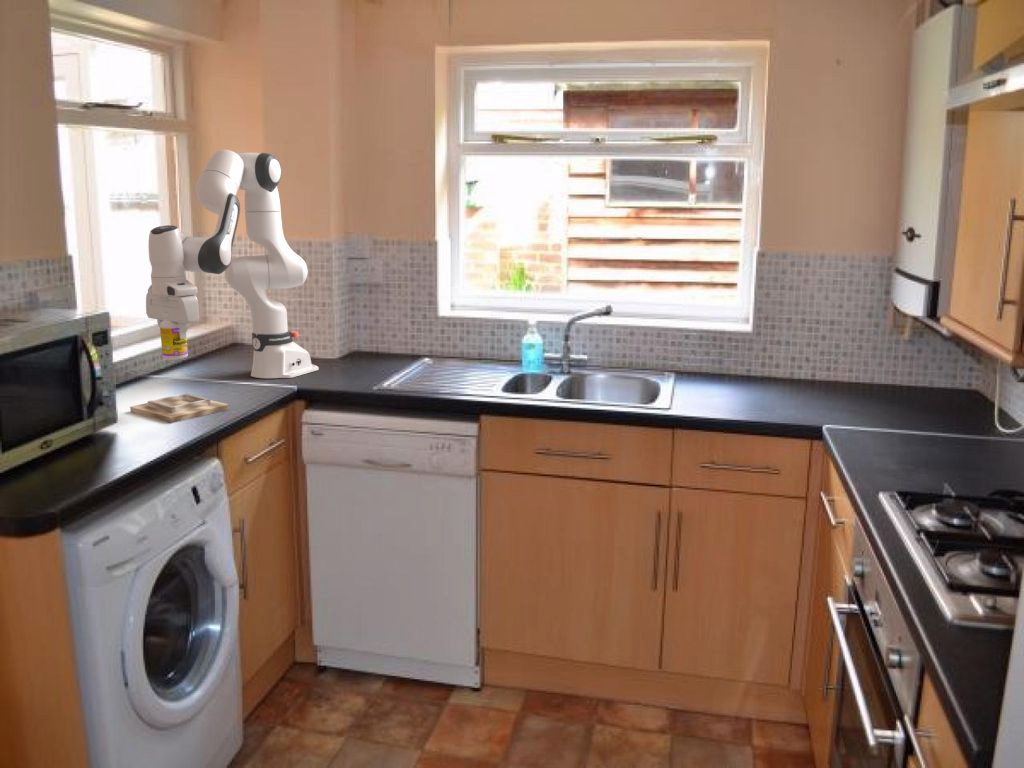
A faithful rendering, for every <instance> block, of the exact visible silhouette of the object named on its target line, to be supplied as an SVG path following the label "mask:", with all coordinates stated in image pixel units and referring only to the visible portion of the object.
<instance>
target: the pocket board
mask: <svg viewBox="0 0 1024 768" xmlns="http://www.w3.org/2000/svg"><path fill="white" fill-rule="evenodd" d="M129 408H130V410H129V411H130V412H131V413H133V412H134V413H133V414H137V413H138V415H140V414H141V415H140V416H144V417H149V418H151V419H154V418H155V420H158V419H159V420H158V421H162V422H165V421H166V423H169V422H170V423H169V424H174V423H178V421H179V422H182V421H181V420H183V421H186V419H187V420H191V419H195V418H194V417H196V418H200V417H203V416H208V414H209V415H213V414H216V412H217V413H220V412H219V411H221V412H224V411H223V410H226V411H229V410H230V404H228V403H225V402H219V401H215V400H212V399H210V398H206V397H202V396H198V395H194V394H190V393H188V392H187V393H186V392H185V393H181V394H176V395H171V396H166V397H161V398H158V399H153V400H148V401H147V402H145V403H141V404H136V405H132V406H129ZM228 409H229V410H228ZM212 413H213V414H212ZM199 416H200V417H199ZM190 418H191V419H190Z"/></svg>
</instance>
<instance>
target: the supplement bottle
mask: <svg viewBox="0 0 1024 768" xmlns="http://www.w3.org/2000/svg"><path fill="white" fill-rule="evenodd" d="M163 318H164V321H162V322H161V323H160V327H159V332H160V342H161V343H160V344H161V353H162V358H163V359H165V360H167V361H168V360H171V361H173V360H176V361H177V360H181V359H186V358H187V357H188V356H189V353H188V352H189V350H188V337H187V336H186V339H179V338H178V335H177V332H179V329H180V327H179V326H178V323H177V322H171V321H169V313H165V312H163Z"/></svg>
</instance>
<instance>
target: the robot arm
mask: <svg viewBox="0 0 1024 768" xmlns="http://www.w3.org/2000/svg"><path fill="white" fill-rule="evenodd" d="M282 171H283V170H282V166H281V163H280V161H279V160H278V158H277V157H276V156H275V155H273V154H271V153H267V152H266V153H265V152H261V153H259V152H242V153H241V152H237V153H236V151H233V150H230V149H218V150H217V151H216V152H215V153H214V154H213V155H212V156H211V157H210V159H209V160H208V161H207V163H206V164H205V166H204V168H203V169H202V171H201V173H200V175H199V177H198V180H197V181H196V185H195V195H196V199H197V200H198V202H199V203H200V204H201V205H202V207H204V208H205V209H206V210H208V211H209V212H211V213H212V214H215V215H218V217H217V222H216V225H215V226H216V227H215V230H214V233H212V234H211V235H208V236H188V235H186V234H184V233H182V232H181V230H180V228H179V227H178V226H177V225H170V224H169V225H168V224H167V225H160V226H157V227H153V228H152V229H151V230H150V232H149V235H148V261H149V263H150V265H151V266H150V267H151V272H150V279H151V281H150V282H151V284H150V286H149V287H148V289H147V293H146V294H145V295H146V296H145V313H146V316H147V318H148V319H152V320H153V319H154V320H157V321H156V323H157V326H158V327H159V328H160V323H161V322H162V321H164V318H163V312H165V313H169V321H171V322H177V323H178V326H179V327H180V329H179V332H177V335H178V338H179V339H186V337H187V331H188V328H189V325H191V324H196V323H198V322H199V318H200V314H199V313H200V311H199V300H198V298H197V296H196V295H198V294H199V293H198V292H199V291H198V287H197V286H196V285H195V284H193V283H192V282H190V281H189V280H188V279H187V277H186V275H187V274H186V272H191V273H208V274H215V275H220V274H222V273H224V278H225V280H226V282H227V284H228V285H229V286H230V287H231V288H232V289H233V290H234V291H236V292H238V294H240V295H241V296H242V297H243V298H244V300H245V301H246V303H247V305H248V307H249V310H250V315H251V323H252V324H251V325H252V333H251V343H252V347H253V357H252V358H253V359H252V368H251V373H250V377H253V378H257V379H292V378H295V377H299V376H302V375H307V374H308V373H312V372H316V371H319V369H320V368H319V366H317V365H315V364H313V363H312V360H311V355H310V353H309V351H308V350H306V349H305V348H304V347H301V345H299V344H297V343H296V342H294V339H293V338H295V339H297V338H298V337H299V335H300V334H299V332H298V331H290V330H289V325H288V310H287V308H286V306H285V305H284V304H283V303H282V302H280V301H278V300H275V299H272V298H271V297H268V295H267V291H269V290H284V289H292V288H296V287H300V286H303V285H304V284H305V283H306V280H307V278H308V275H309V271H308V265H307V263H306V262H305V260H304V259H303V258H302V257H301V256H299V255H298V254H297V253H296V252H294V250H292V248H291V247H290V246H289V244H288V241H287V240H286V238H285V235H284V229H283V222H282V221H283V220H282V211H281V209H282V208H281V207H282V206H281V201H280V195H279V194H280V193H279V191H278V190H279V189H278V185H279V183H280V181H281V178H282ZM238 191H244V215H245V216H244V217H245V230H246V231H245V233H246V235H247V238H248V239H249V240H250V241H252V242H253V243H256V244H258V245H259V246H262V247H263V248H265V249H267V254H265V255H243V256H238V257H234V258H233V246H234V240H235V236H236V232H237V228H238V224H239V218H240V212H241V203H240V200H239V198H238V197H237V194H238Z"/></svg>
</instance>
